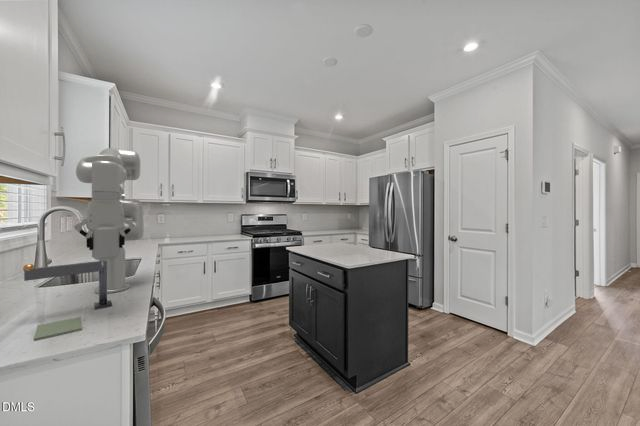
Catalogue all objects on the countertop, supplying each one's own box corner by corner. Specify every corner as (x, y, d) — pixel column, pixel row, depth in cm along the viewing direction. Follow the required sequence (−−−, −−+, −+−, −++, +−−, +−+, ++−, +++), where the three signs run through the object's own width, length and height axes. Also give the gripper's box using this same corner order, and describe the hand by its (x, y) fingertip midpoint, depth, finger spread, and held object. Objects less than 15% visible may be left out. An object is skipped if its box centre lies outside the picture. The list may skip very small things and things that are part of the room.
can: (113, 255, 98) (113, 222, 98) (123, 257, 94) (123, 223, 94) (88, 258, 92) (88, 223, 91) (97, 261, 88) (97, 224, 88)
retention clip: (106, 301, 103) (106, 256, 103) (107, 302, 101) (107, 256, 101) (23, 317, 87) (22, 264, 87) (23, 319, 86) (22, 265, 85)
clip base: (94, 305, 102) (94, 303, 102) (110, 302, 105) (110, 300, 105) (94, 309, 98) (94, 306, 98) (112, 306, 101) (112, 303, 101)
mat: (37, 327, 83) (37, 325, 83) (80, 318, 90) (80, 316, 90) (33, 340, 74) (33, 338, 74) (81, 330, 81) (82, 328, 81)
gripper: (134, 198, 101) (134, 245, 102) (71, 196, 89) (71, 249, 90) (138, 198, 96) (138, 247, 96) (71, 196, 84) (72, 252, 84)
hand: (106, 248), depth 93 cm, fingers closed on can, 7 cm apart
